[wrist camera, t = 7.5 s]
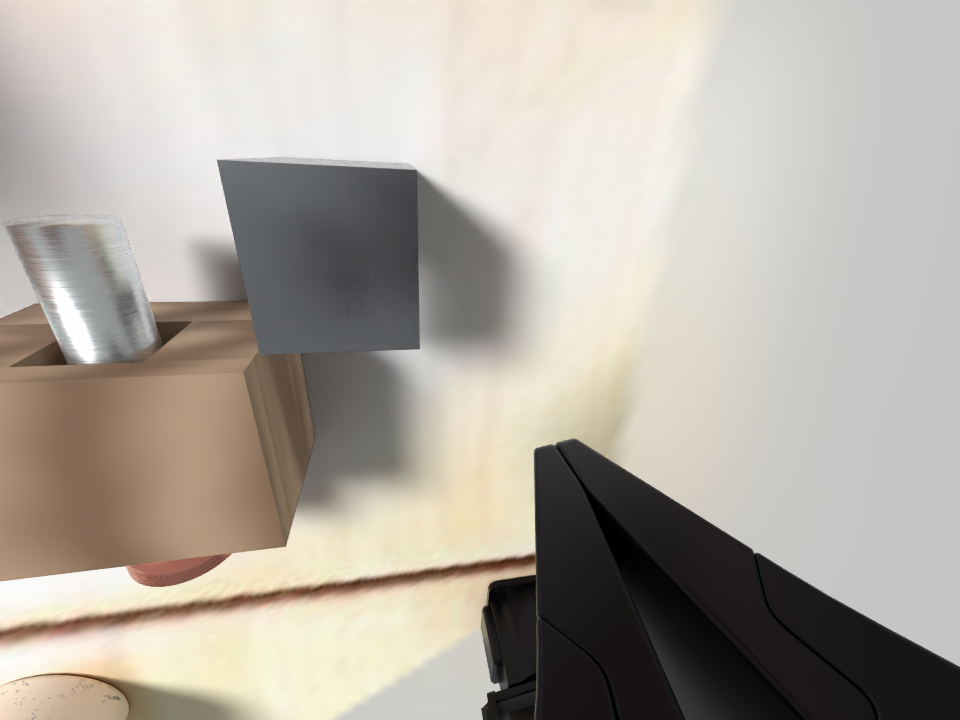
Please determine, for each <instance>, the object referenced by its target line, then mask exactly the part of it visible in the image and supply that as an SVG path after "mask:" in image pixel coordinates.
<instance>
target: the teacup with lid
mask: <svg viewBox="0 0 960 720" xmlns="http://www.w3.org/2000/svg"><path fill="white" fill-rule="evenodd" d="M128 713H129V705H128V701H127V699H126V697H125V696H124V695H123V694H122V693H121V692H120V691H119V690H117V689H116V688H114V687H113V686H111V685H109V684H107V683H104V682H101V681H98V680H94V679H90V678H85V677H79V676H69V675H47V676H37V677H30V678H25V679H21V680H17V681H14V682H10V683H7V684H5V685H2V686H0V720H126V719H127V716H128Z"/></svg>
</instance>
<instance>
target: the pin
mask: <svg viewBox="0 0 960 720" xmlns="http://www.w3.org/2000/svg"><path fill="white" fill-rule="evenodd" d="M3 225H4V227H5V229H6V231H7V234H8V236H9V238H10V240H11V242H12V244H13V247H14V249H15V251H16V253H17V255H18V257H19V260H20V262H21V264H22V266H23V268H24V270H25V272H26V275H27V277H28V279H29V281H30V283H31V285H32V288H33V290H34V292H35V294H36V296H37V298H38V301H39V303H40V305H41V307H42V309H43V311H44V314H45V316H46V318H47V320H48V322H49V324H50V327H51V329H52V331H53V333H54V335H55V337H56V339H57V342H58V344H59V346H60V348H61V350H62V352H63V355H64V357H65V359H66V361H67V363H68V365H82V364H110V363H137V362H145V361H146V360H147V359H149V358H150V357H151V356H152V355H153V354H154V353H156V352H157V351H158V350H159V349H160V348H162V347H163V343H162V340H161V337H160V334H159V331H158V328H157V325H156V322H155V319H154V316H153V313H152V310H151V307H150V304H149V301H148V298H147V295H146V292H145V289H144V286H143V283H142V280H141V277H140V274H139V271H138V268H137V265H136V262H135V259H134V256H133V253H132V250H131V247H130V244H129V241H128V238H127V235H126V232H125V229H124V226H123V223H122V220H121V218H119V217H115V216H107V215H55V216H39V217H29V218H21V219H14V220H9V221H6V222H4V223H3ZM231 554H232V553H229V554H221V555H213V556H204V557H196V558H188V559H180V560H171V561H163V562H155V563H147V564H139V565H130V566H126V568H127V570H128V572H129V574H130V576H131V577H132V578H133V579H134V580H135V581H136V582H138V583H140V584H142V585H145V586H151V587H164V586H171V585H176V584H180V583H184V582H186V581H189V580H192V579H194V578H196V577H199V576H201V575H203V574H205V573H206V572H208V571H210V570H212V569H213V568H215V567H216V566H218V565H219V564H220V563H222V562H223V561H224V560H225V559H226V558H228V557H229V556H230V555H231Z"/></svg>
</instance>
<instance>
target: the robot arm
mask: <svg viewBox="0 0 960 720" xmlns="http://www.w3.org/2000/svg"><path fill="white" fill-rule="evenodd" d="M534 488H535V547H536V576H535V577H528V578H522V579H515V580H509V581H502V582H495V583H492V584H490V585H489V587H488V593H487V604H486V606H484V608H483V609H482V620H481V630H482V635H483V641H484V646H485V652H486V657H487V662H488V668H489V673H490V679H491V681H492V682H493V683H494V684H496V683H499V684H500V689H501V691H498V692H495V691H492V692H489V693H487V697H488V702H487V704H486V705H485V706H484V707H483V708H482V709H481V710H482V716H483V720H960V667H959V666H957V665H955V664H953V663H952V662H950V661H948V660H946V659H944V658H942V657H940V656H939V655H937V654H935V653H932V652H931V651H929V650H927V649H925V648H924V647H922V646H920V645H918V644H916V643H914V642H912V641H910V640H909V639H907V638H905V637H903V636H901V635H899V634H897V633H895V632H893V631H892V630H890V629H888V628H886V627H884V626H882V625H881V624H879V623H877V622H875V621H873V620H872V619H870V618H868V617H866V616H864V615H863V614H861V613H859V612H857V611H855V610H853V609H852V608H850V607H848V606H846V605H845V604H843V603H841V602H839V601H837V600H836V599H834V598H832V597H830V596H828V595H827V594H825V593H823V592H822V591H820V590H818V589H817V588H815V587H813V586H812V585H810V584H808V583H807V582H805V581H803V580H802V579H800V578H798V577H797V576H795V575H793V574H792V573H790V572H788V571H787V570H785V569H783V568H782V567H780V566H779V565H777V564H775V563H774V562H772V561H771V560H769V559H767V558H766V557H764V556H763V555H761V554H759V553H755V554H754V552H753V550H752V549H751V548H750V547H748V546H746V545H745V544H743V543H742V542H740V541H738V540H737V539H735V538H733V537H732V536H730V535H729V534H727V533H726V532H724V531H722V530H721V529H719V528H718V527H716V526H714V525H713V524H711V523H710V522H708V521H706V520H705V519H703V518H702V517H700V516H698V515H697V514H695V513H694V512H692V511H690V510H689V509H687V508H686V507H684V506H682V505H681V504H679V503H678V502H676V501H674V500H673V499H671V498H670V497H668V496H666V495H665V494H663V493H662V492H660V491H658V490H657V489H655V488H654V487H652V486H650V485H649V484H647V483H645V482H644V481H642V480H641V479H639V478H638V477H636V476H634V475H633V474H631V473H629V472H628V471H626V470H625V469H623V468H622V467H620V466H619V465H617V464H615V463H614V462H612V461H611V460H609V459H607V458H606V457H604V456H603V455H601V454H599V453H598V452H596V451H595V450H593V449H591V448H590V447H588V446H587V445H585V444H583V443H582V442H580V441H579V440H577V439H569V440H565V441H562V442H558V443H556V444H555V445H552V444H550V445H546V446H542V447H539V448H536V449H535V450H534Z"/></svg>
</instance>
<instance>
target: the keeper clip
mask: <svg viewBox="0 0 960 720" xmlns="http://www.w3.org/2000/svg"><path fill="white" fill-rule="evenodd" d="M217 162H218V167H219V172H220V176H221V181H222V185H223V190H224V194H225V199H226V204H227V208H228V213H229V217H230V222H231V227H232V231H233V236H234V240H235V245H236V250H237V254H238V259H239V263H240V268H241V272H242V277H243V282H244V286H245V291H246V295H247V300H248V305H249V309H250V314H251V318H252V323H253V327H254V332H255V337H256V341H257V346H258V350H259V355H267V354H296V353H324V352H353V351H381V350H410V349H420V336H419V280H418V223H417V170H416V169H415V168H413V167H412V166H410V165H409V164H398V163H379V162H361V161H342V160H323V159H304V158H285V157H276V158H250V159H224V160H217Z"/></svg>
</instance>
